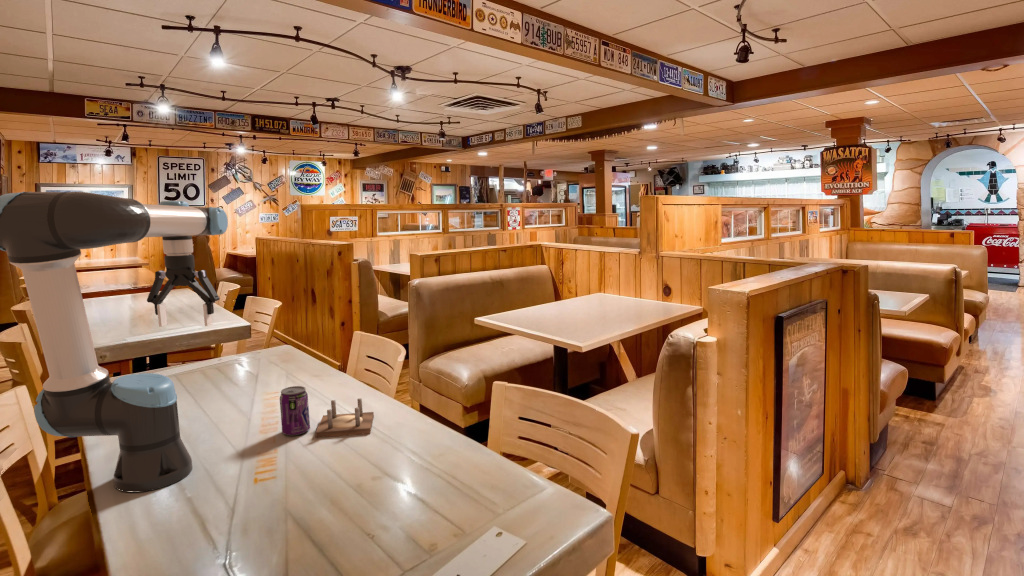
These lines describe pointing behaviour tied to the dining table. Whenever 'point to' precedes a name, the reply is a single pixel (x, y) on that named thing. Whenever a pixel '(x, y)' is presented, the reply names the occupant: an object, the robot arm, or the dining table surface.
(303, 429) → the beverage can
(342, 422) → the pin board
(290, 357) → the dining table surface
